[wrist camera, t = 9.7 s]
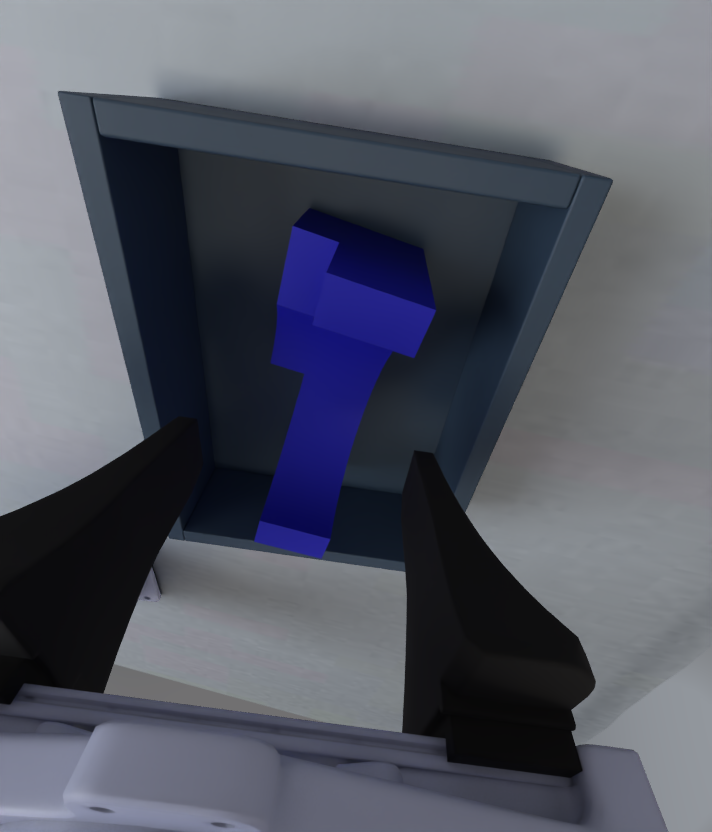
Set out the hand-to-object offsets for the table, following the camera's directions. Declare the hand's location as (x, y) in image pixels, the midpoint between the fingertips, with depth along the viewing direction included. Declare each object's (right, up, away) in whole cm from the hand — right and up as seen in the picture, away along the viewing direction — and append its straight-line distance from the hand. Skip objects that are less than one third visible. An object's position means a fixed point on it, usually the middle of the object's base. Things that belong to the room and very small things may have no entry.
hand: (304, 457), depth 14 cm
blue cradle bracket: (0, +4, +5) cm, 7 cm away
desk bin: (+1, +4, +6) cm, 7 cm away
